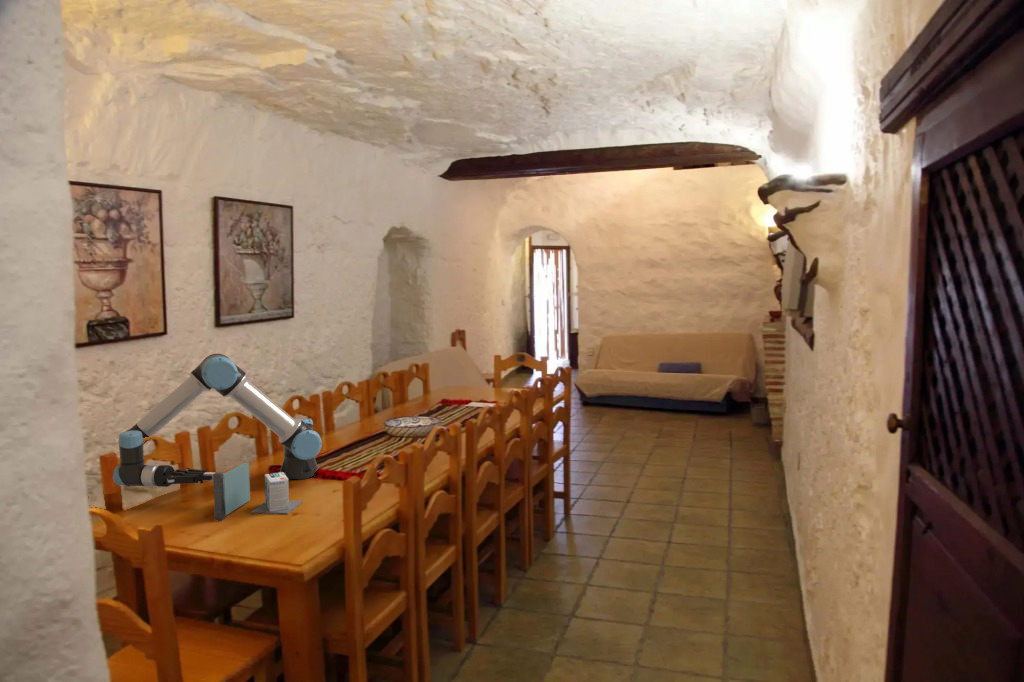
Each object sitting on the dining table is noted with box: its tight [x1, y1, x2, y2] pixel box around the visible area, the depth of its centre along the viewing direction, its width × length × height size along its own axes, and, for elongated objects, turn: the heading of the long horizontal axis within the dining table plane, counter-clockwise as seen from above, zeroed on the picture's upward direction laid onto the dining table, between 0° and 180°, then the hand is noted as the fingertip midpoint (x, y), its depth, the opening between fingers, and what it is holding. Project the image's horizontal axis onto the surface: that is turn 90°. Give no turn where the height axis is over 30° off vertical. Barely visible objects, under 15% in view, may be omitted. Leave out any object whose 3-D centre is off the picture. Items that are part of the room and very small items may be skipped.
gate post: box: [212, 471, 226, 522], centre depth 239 cm, size 2×2×16 cm
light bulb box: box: [264, 471, 290, 512], centre depth 252 cm, size 11×7×11 cm, turn 28°
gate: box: [223, 461, 251, 517], centre depth 250 cm, size 18×1×14 cm, turn 173°
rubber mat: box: [251, 500, 304, 516], centre depth 252 cm, size 13×13×1 cm
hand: (222, 476), depth 251 cm, fingers closed
